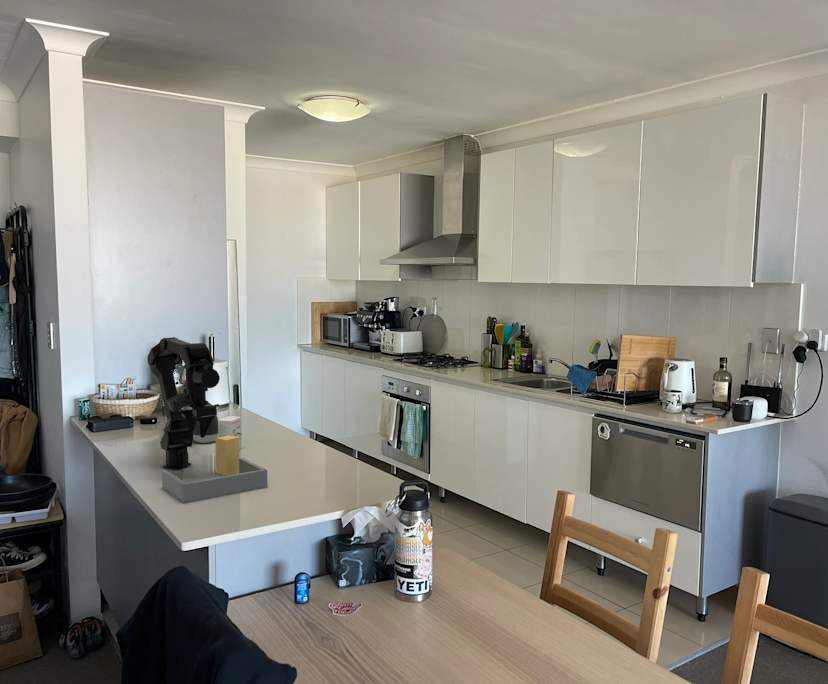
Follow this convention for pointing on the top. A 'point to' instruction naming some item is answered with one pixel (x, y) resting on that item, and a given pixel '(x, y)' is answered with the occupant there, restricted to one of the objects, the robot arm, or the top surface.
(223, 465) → the ochre block
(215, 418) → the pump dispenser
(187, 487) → the open box
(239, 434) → the ink box
